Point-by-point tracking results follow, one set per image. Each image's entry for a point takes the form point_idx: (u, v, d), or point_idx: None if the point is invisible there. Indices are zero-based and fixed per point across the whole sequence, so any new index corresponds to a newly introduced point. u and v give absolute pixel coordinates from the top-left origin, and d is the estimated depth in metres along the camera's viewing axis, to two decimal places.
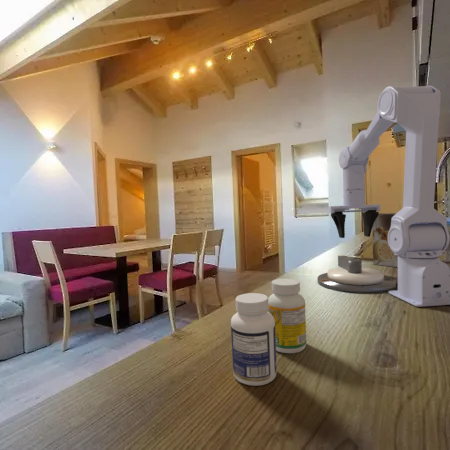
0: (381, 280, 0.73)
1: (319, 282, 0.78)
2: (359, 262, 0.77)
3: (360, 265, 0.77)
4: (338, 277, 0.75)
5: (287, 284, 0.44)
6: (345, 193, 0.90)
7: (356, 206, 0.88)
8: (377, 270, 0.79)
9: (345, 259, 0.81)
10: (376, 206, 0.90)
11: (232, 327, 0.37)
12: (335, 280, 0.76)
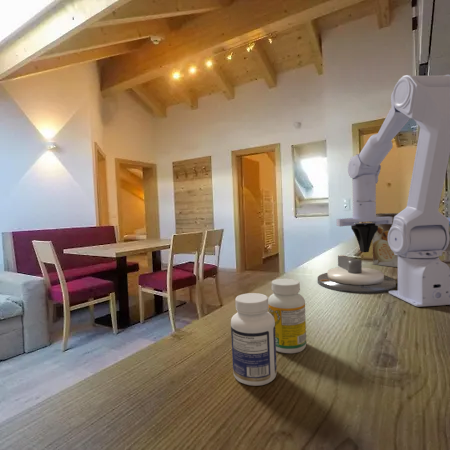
0: (381, 280, 0.73)
1: (319, 282, 0.78)
2: (359, 262, 0.77)
3: (360, 265, 0.77)
4: (338, 277, 0.75)
5: (287, 284, 0.44)
6: (355, 205, 0.83)
7: (367, 219, 0.81)
8: (377, 270, 0.79)
9: (345, 259, 0.81)
10: (388, 219, 0.84)
11: (232, 327, 0.37)
12: (335, 280, 0.76)
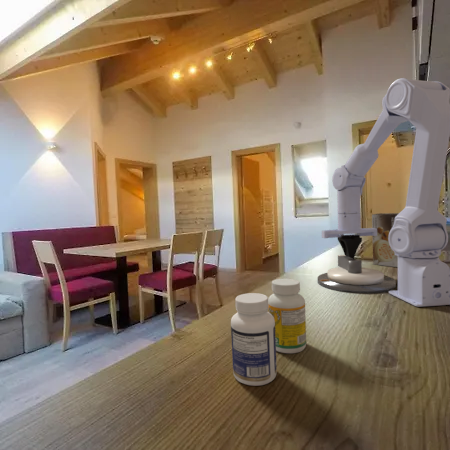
0: (381, 280, 0.73)
1: (319, 282, 0.78)
2: (359, 262, 0.77)
3: (360, 265, 0.77)
4: (338, 277, 0.75)
5: (287, 284, 0.44)
6: (339, 217, 0.83)
7: (351, 231, 0.81)
8: (377, 270, 0.79)
9: (345, 259, 0.81)
10: (373, 230, 0.84)
11: (232, 327, 0.37)
12: (335, 280, 0.76)
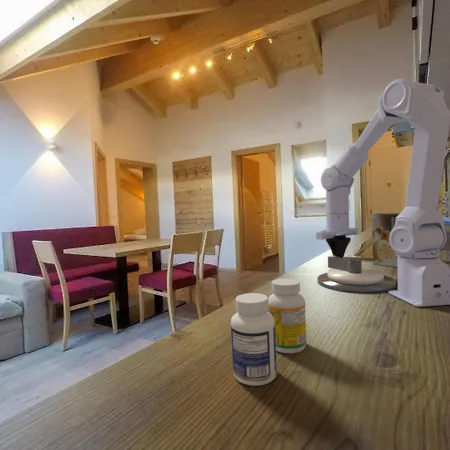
0: None
1: (319, 282, 0.78)
2: (361, 262, 0.77)
3: (361, 264, 0.77)
4: (350, 279, 0.73)
5: (287, 284, 0.44)
6: (332, 217, 0.82)
7: (345, 231, 0.81)
8: (369, 268, 0.82)
9: (341, 260, 0.81)
10: (355, 230, 0.86)
11: (232, 327, 0.37)
12: (346, 282, 0.73)
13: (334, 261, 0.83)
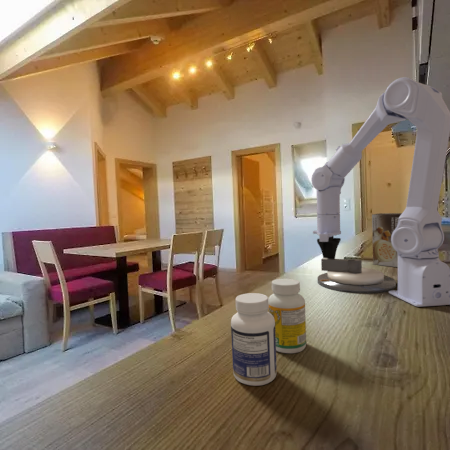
0: None
1: (319, 282, 0.78)
2: None
3: None
4: (366, 279, 0.72)
5: (287, 284, 0.44)
6: (328, 218, 0.79)
7: (339, 232, 0.80)
8: None
9: (339, 261, 0.79)
10: None
11: (232, 327, 0.37)
12: (362, 283, 0.72)
13: (330, 263, 0.80)
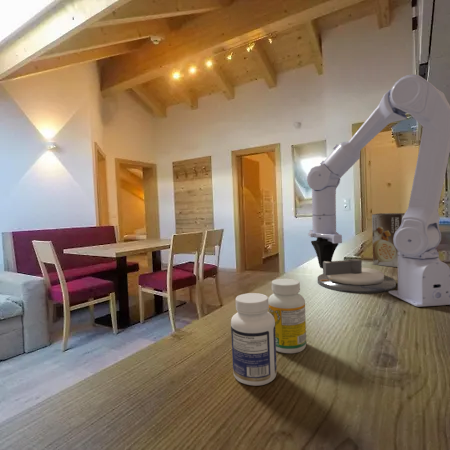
0: None
1: (319, 282, 0.78)
2: None
3: None
4: (380, 277, 0.73)
5: (287, 284, 0.44)
6: (331, 218, 0.77)
7: None
8: None
9: (343, 263, 0.77)
10: None
11: (232, 327, 0.37)
12: (378, 281, 0.73)
13: (334, 266, 0.77)
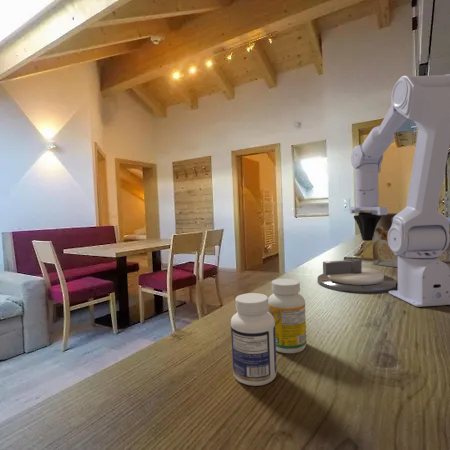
0: None
1: (319, 282, 0.78)
2: None
3: None
4: (380, 277, 0.73)
5: (287, 284, 0.44)
6: (374, 193, 0.82)
7: None
8: None
9: (343, 263, 0.77)
10: None
11: (232, 327, 0.37)
12: (378, 281, 0.73)
13: (334, 266, 0.77)
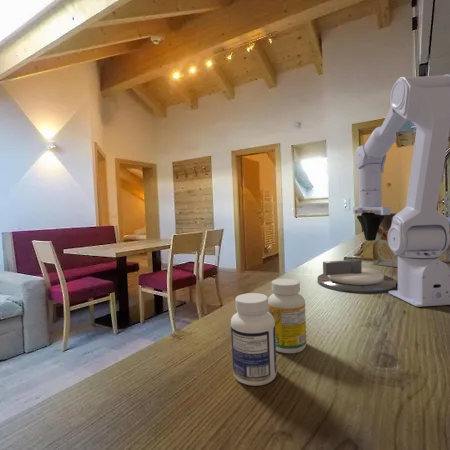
0: None
1: (319, 282, 0.78)
2: None
3: None
4: (380, 277, 0.73)
5: (287, 284, 0.44)
6: (378, 193, 0.83)
7: None
8: None
9: (343, 263, 0.77)
10: None
11: (232, 327, 0.37)
12: (378, 281, 0.73)
13: (334, 266, 0.77)
